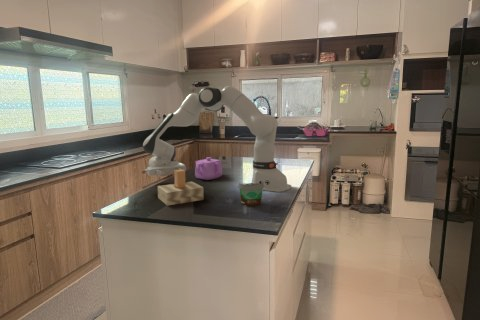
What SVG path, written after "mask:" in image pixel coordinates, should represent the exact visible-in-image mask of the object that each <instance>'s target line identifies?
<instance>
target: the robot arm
mask: <svg viewBox="0 0 480 320" xmlns="http://www.w3.org/2000/svg"><path fill="white" fill-rule="evenodd" d="M224 106H225V107H226V108H228V109H229V110H230V111H232V113H234V114H235V115H236V116H237V117H238V118H239V119H240V120H241V121H242V122H243V123H244V125H246V127H247V129H249V131H250V133H251V134H252V135H253V136H255V139H254V140H255V141H254V145H253V160H252V170H253V171H252V178H251V182H250V183H256V184H257V183H262V181H263V183H264V188H263V189H262V191H267V192H275V193H276V192H277V193H281V192H285V191H288V190H290V189H291V188H292V184H288V179H287V176H286V175H285V174H284V173H283V172H282V171H281V170H280V169H278V167H277V166H278V165H279V164H278V163H279V162H275V160H274V159H275V142H276V136H277V128H278V120H277V119H276V117H275V116H273V115H271V114H264V113H263V112H262V111H261V110H260V109H259V108H258V107H257V105H256V104H255V102H253V101H252V100H251V99H250V98H248V96H247V95H246V94H244V93H243V92H241V91H240V90H238V88H236V87H234V86H231V85H226V86H225V87H223V88H222V89H221V90H220V89H219V88H215V87H210V86H207V87H203V88H201V90H200V91H199V93H195V92H191V93H189V94H188V95H187V96H186V97H185V98H184V100H183V102H182V103H181V104H180V106H179V108H178V109H177V110H175V111H173V112H170V113H168V114H167V115H166V116H165V117H164V118H163V119H162V120H161V121H160V123H159V124H158V125H157V126H156V128H155V129H153V131H151V133H150V134H149V135H148V136H147V137H146V138H145V139H144V141H143V143H142V148H143V150H144V152H145V153H147V154H149V155H153V157H151V158H150V159H149V160H148V167H146V168H144V172H146V174H147V175H148V176H149V177H150V176H151V177H152V176H160V177H166V176H168V175H171V174H174V170H181V169H182V170H184V171H185V172H187V167H186V164H184V163H182V162H179V161H178V160H175V157H176V155H177V153H176V151H177V150H176V147H175V146H174V145H172V144H170V143H169V142H166V141H164V140H163V139H160V137H161V136H162V135H163V134H164V133H165V132H166V130H167V129H168V128H170V127H172V126H176V127H183V128H184V127H189V126H192V125H193V124H194V122H195V121H196V120H197V118H198V116H199V114H200V113H201V112H202V111H203V110H206V111H209V112H210V111H211V112H219V111H220V110H222V109H223V108H224Z"/></svg>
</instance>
